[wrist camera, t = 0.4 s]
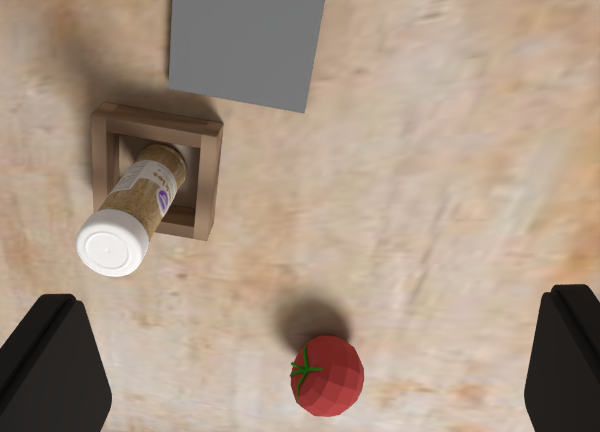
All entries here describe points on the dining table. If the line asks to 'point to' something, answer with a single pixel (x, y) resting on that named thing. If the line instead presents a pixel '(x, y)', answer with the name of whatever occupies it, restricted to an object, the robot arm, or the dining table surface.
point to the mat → (245, 50)
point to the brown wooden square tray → (166, 129)
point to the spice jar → (131, 212)
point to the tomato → (327, 376)
